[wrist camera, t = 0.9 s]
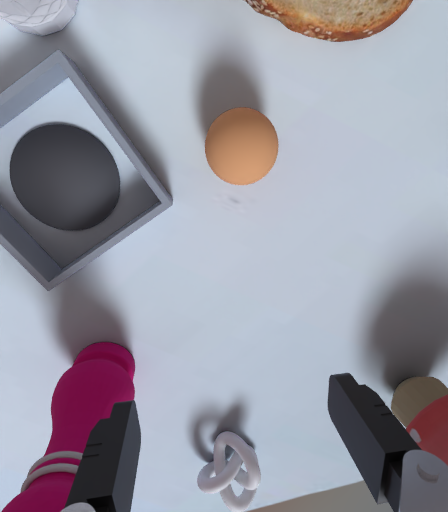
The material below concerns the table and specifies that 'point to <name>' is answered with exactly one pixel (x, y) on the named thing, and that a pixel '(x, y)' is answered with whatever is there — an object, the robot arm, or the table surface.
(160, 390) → the table surface
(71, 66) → the corral
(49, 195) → the pad
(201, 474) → the knot
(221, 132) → the ball
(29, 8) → the white cup
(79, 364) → the pepper mill
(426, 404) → the decorative mushroom
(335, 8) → the slice of bread
